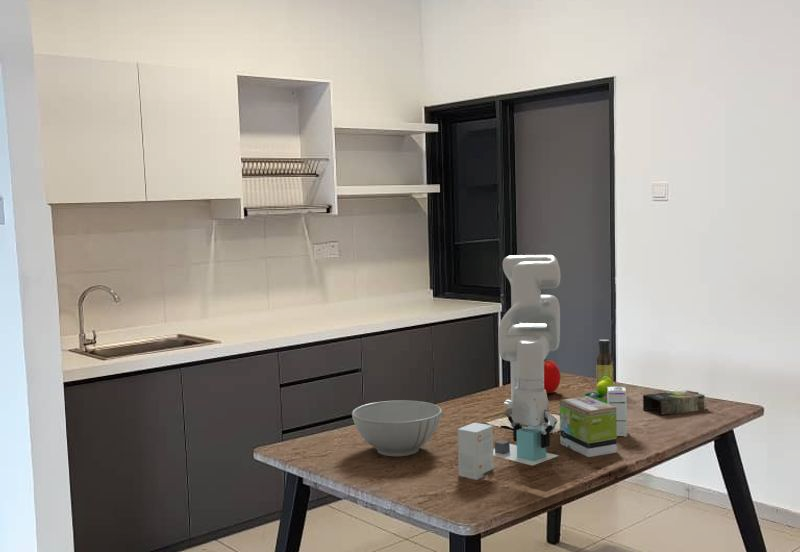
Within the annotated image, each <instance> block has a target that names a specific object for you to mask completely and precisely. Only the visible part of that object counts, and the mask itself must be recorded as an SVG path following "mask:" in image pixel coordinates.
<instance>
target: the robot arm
mask: <svg viewBox="0 0 800 552" xmlns="http://www.w3.org/2000/svg"><path fill="white" fill-rule="evenodd" d="M502 269H503V272H504V275H505V277H506V278H507V279H508V281H509V284H510V297H511V299H510V300H511V301H510V302H511V305H510V306H511V307H510V308H509V309H508V310H507V312H505V314H504V315H503V317H502V319H501V320H500V323H499V326H498V327H499V328H498V352H499V356H500V358H501V359H502V360H504V361H507V362H509V363H510V396H511V397H510V399H506V400H505V401H504V402H503V406H504V407H508V409H506V410H505V413H506V416H507V420H508V421H509V424H510V426H511V427H512V434H513V435H512V436H513V439H512V441H513V442H516V443H517V430H518V429H521V428H523V426H522V425H524V426H532V427H537V428H540V430H541V431H542V433H543V434H541V448H546V449H547V448H548V447H550V444H551V433H552V432H553V430H554V429H555V428H556V426H557V423H558V418H556V417H555V416H554V415H553V414H551V413H550V410H549V409H550V408H549V400H548V395H547V394H548V393H546V390H545V389H544V360H545V359H547V356H548V355H549V353H550V352H554V351H556V350H558V348H559V347H560V342H561V340H560V339H561V307H560V306H561V305H560V302H559V299H558V298H557V297H556V296H555V295H552V294H542V291H541V290H542V289H543V290H544V289H545V290H548V289H556V288H558V287H559V286H560V283H561V278H562V277H561V276H562V275H561V267H560V264H559V262H558V258H556V256H554V255H553V254H536V255H535V254H525V255H523V254H519V255H517V254H516V255H515V254H514V255H508V256H506V257H504V258H503V261H502Z"/></svg>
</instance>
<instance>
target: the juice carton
mask: <svg viewBox="0 0 800 552" xmlns="http://www.w3.org/2000/svg"><path fill="white" fill-rule="evenodd" d="M705 399H706V396H705V394H703V393H699V391H692V390H687V389H686V390H677V391H675V390H674V391H667V392H666V391H665V392H658V393H651V394H644V395H643V396H642V409H643V411H644V410H645V411H647V410H646V409H649V410H655V409H656V412H657V414H658V415H660V416H661V415H664V416H665V415H666V414H668V415H676V414H678V413H679V414H685V413H690V412H698V411H705V410H706V407H707V405H706V401H705Z"/></svg>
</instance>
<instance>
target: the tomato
mask: <svg viewBox="0 0 800 552" xmlns="http://www.w3.org/2000/svg"><path fill="white" fill-rule="evenodd" d="M560 383H561V372H560V368H559V367H558V365H557V363H556V362H554V361H553V360H550V359H548V360H547V358H545V359H544V389H545V390H546V393H547V394H552V393H554V392H555V391H556V390H557V389H558V388H559V386H560Z"/></svg>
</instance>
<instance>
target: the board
mask: <svg viewBox="0 0 800 552" xmlns="http://www.w3.org/2000/svg"><path fill="white" fill-rule="evenodd" d="M559 456H560V455H559V454H555V453H554V454H553V453H550V452H546V457H544V458H541V459H538V460H536V461H530V460H526V459H522V458H518V457H517V444H513V443H510V441H507V440H503V439H500V440H498V441H494V448H493V457H498V458H501V459H506V460H509V461H514V462H518V463H521V464H525V465H528V466H536V465H538V464H540V463H543V462H546V461H549V460H552V459H554V458H557V457H559Z"/></svg>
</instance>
